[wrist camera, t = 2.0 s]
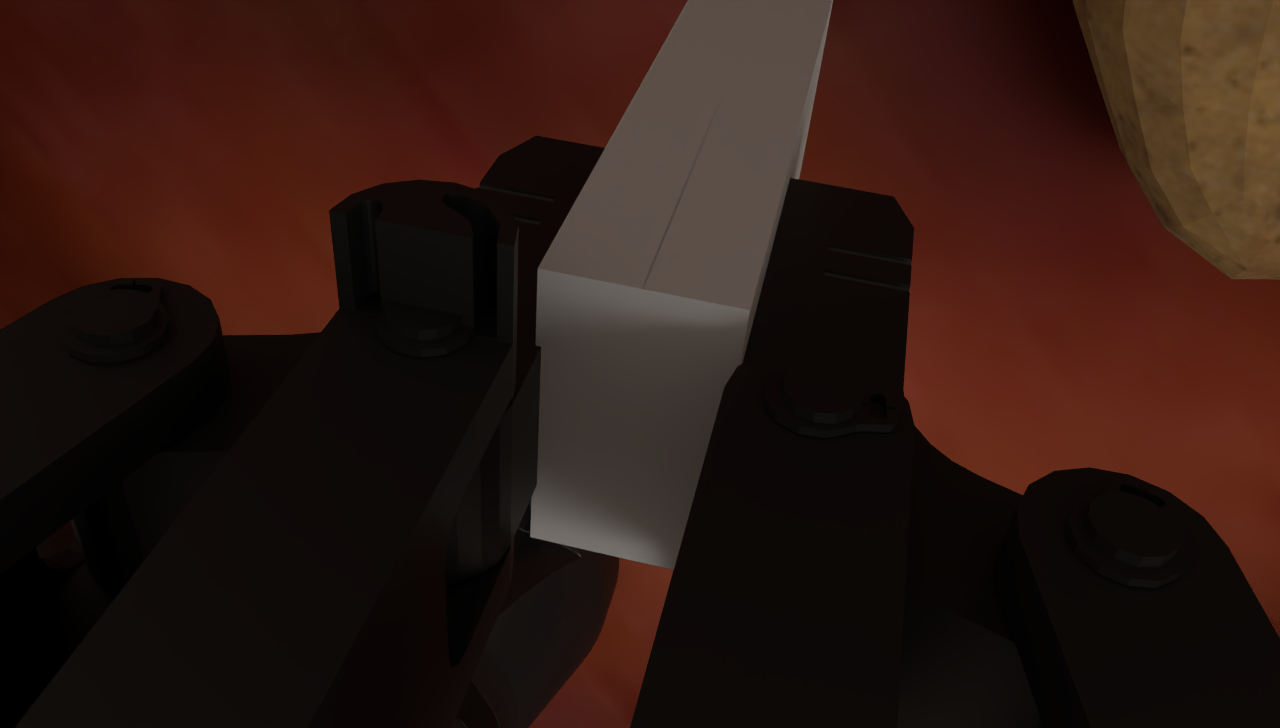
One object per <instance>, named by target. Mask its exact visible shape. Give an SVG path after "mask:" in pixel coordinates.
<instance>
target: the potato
mask: <svg viewBox="0 0 1280 728" xmlns="http://www.w3.org/2000/svg"><path fill="white" fill-rule="evenodd" d="M1073 5H1074V8H1075V11H1076V14H1077V17H1078V20H1079V24H1080V27H1081V30H1082V33H1083V36H1084V39H1085V42H1086V46H1087V49H1088V52H1089V55H1090V58H1091V61H1092V65H1093V68H1094V71H1095V74H1096V77H1097V80H1098V83H1099V86H1100V89H1101V92H1102V95H1103V99H1104V102H1105V105H1106V108H1107V111H1108V114H1109V117H1110V120H1111V123H1112V126H1113V129H1114V132H1115V135H1116V138H1117V141H1118V144H1119V147H1120V150H1121V152H1122V154H1123V156H1124V158H1125V160H1126V161H1127V163H1128V165H1129V167H1130V169H1131V170H1132V172H1133V174H1134V176H1135V178H1136V180H1137V181H1138V183H1139V185H1140V187H1141V189H1142V190H1143V192H1144V194H1145V196H1146V198H1147V199H1148V201H1149V203H1150V205H1151V207H1152V208H1153V210H1154V212H1155V214H1156V216H1157V217H1158V219H1159V220H1160V222H1161V223H1162V225H1163V226H1164V228H1166V229H1167V230H1168V231H1169V232H1171V233H1172V234H1173V235H1175V236H1176V237H1177V238H1179V239H1180V240H1181V241H1182V242H1184V243H1185V244H1186V245H1188V246H1189V247H1190V248H1192V249H1193V250H1194V251H1195V252H1197V253H1198V254H1199V255H1201V256H1202V257H1203V258H1205V259H1206V260H1207V261H1208V262H1210V263H1211V264H1212V265H1214V266H1215V267H1216V268H1218V269H1219V270H1220V271H1221V272H1223V273H1224V274H1225V275H1227V276H1228V277H1229V278H1231V279H1280V0H1073Z"/></svg>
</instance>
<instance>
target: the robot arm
mask: <svg viewBox="0 0 1280 728" xmlns="http://www.w3.org/2000/svg"><path fill="white" fill-rule="evenodd" d="M832 3H833V0H688V1H687V3H686V5H685V6H684V8H683V10H682V12H681V14H680V15H679V17H678V19H677V21H676V23H675V24H674V26H673V28H672V30H671V31H670V33H669V35H668V37H667V39H666V40H665V42H664V44H663V46H662V48H661V49H660V51H659V53H658V55H657V56H656V58H655V60H654V62H653V64H652V65H651V67H650V69H649V71H648V73H647V74H646V76H645V78H644V80H643V81H642V83H641V85H640V87H639V89H638V90H637V92H636V94H635V96H634V97H633V99H632V101H631V103H630V105H629V106H628V108H627V110H626V112H625V114H624V115H623V117H622V119H621V121H620V122H619V124H618V126H617V128H616V130H615V131H614V133H613V135H612V137H611V139H610V140H609V142H608V144H607V146H606V147H605V148H601V147H596V146H590V145H585V144H579V143H574V142H568V141H563V140H557V139H552V138H546V137H541V136H535V137H533V138H531V139H529V140H527V141H525V142H524V143H522V144H520V145H518V146H516V147H514V148H512V149H511V150H509V151H507V152H505V153H503V154H501V155H499V157H498V158H497V160H496V161H495V162H494V164H493V165H492V166H491V168H490V169H489V171H488V172H487V173H486V175H485V176H484V178H483V179H482V180H481V182H480V187H479V188H476V189H474V188H470V187H467V186H464V185H461V184H457V183H453V182H441V181H429V180H411V181H402V182H393V183H384V184H381V185H378V186H375V187H372V188H369V189H366V190H363V191H360V192H357V193H354V194H351V195H350V196H349V197H347V198H346V199H344V200H343V201H342V202H340V203H339V204H337V205H336V206H335V207H333V208H332V209H331V210H329V214H330V223H331V233H332V242H333V251H334V261H335V270H336V279H337V288H338V298H339V307H340V309H339V310H338V311H337V313H336V314H335V315H334V316H333V318H332V319H331V320H330V322H329V323H328V324H327V325H326V327H325V328H324V329H323V331H322V332H319V333H308V334H295V335H226V336H223V335H222V330H221V325H220V320H219V317H218V315H217V313H216V310H215V308H214V306H213V304H212V301H211V299H209V298H207V297H206V296H204V295H203V294H201V293H200V292H198V291H197V290H195V289H194V288H192V287H191V286H189V285H185V284H181V283H177V282H173V281H168V280H164V279H160V278H120V279H114V280H110V281H105V282H100V283H96V284H91V285H86V286H82V287H80V288H78V289H75V290H73V291H71V292H69V293H66V294H64V295H62V296H59V297H57V298H55V299H53V300H50V301H48V302H47V303H45V304H43V305H42V306H40V307H38V308H37V309H35V310H33V311H31V312H30V313H28V314H26V315H25V316H23V317H21V318H20V319H18V320H16V321H14V322H13V323H11V324H9V325H8V326H6V327H4V328H3V329H1V330H0V728H529V726H530V725H531V724H532V723H533V721H534V720H535V719H536V718H537V717H538V715H539V714H540V713H541V712H542V711H543V709H544V708H545V707H546V706H547V704H548V703H549V702H550V701H551V700H552V698H553V697H554V696H555V695H556V693H557V692H558V691H559V690H560V689H561V687H562V686H563V685H564V684H565V682H566V681H567V680H568V679H569V678H570V676H571V675H572V674H573V673H574V671H575V670H576V669H577V668H578V667H579V665H580V664H581V663H582V662H583V660H584V659H585V658H586V656H587V655H588V654H589V652H590V651H591V649H592V647H593V646H594V644H595V642H596V640H597V638H598V636H599V635H600V632H601V630H602V627H603V624H604V621H605V618H606V615H607V612H608V609H609V606H610V603H611V600H612V596H613V593H614V590H615V587H616V583H617V578H618V570H619V558H624V559H628V560H632V561H637V562H641V563H645V564H650V565H654V566H659V567H663V568H667V569H672V570H674V571H673V574H672V578H671V582H670V585H669V589H668V592H667V596H666V600H665V603H664V607H663V611H662V614H661V618H660V621H659V625H658V629H657V632H656V636H655V640H654V643H653V647H652V650H651V654H650V658H649V661H648V665H647V668H646V672H645V676H644V679H643V683H642V687H641V690H640V694H639V697H638V701H637V705H636V708H635V712H634V715H633V719H632V723H631V726H630V728H1280V638H1279V636H1278V635H1277V633H1276V631H1275V629H1274V627H1273V626H1272V624H1271V622H1270V620H1269V619H1268V617H1267V615H1266V613H1265V611H1264V610H1263V608H1262V606H1261V604H1260V603H1259V601H1258V599H1257V597H1256V596H1255V594H1254V592H1253V590H1252V588H1251V587H1250V585H1249V583H1248V581H1247V580H1246V578H1245V576H1244V574H1243V572H1242V571H1241V569H1240V567H1239V565H1238V564H1237V562H1236V560H1235V558H1234V557H1233V555H1232V553H1231V551H1230V549H1229V548H1228V546H1227V545H1226V544H1225V543H1224V541H1223V540H1222V539H1221V538H1220V536H1219V535H1218V534H1217V533H1216V531H1215V530H1214V529H1213V528H1212V526H1211V525H1210V524H1209V523H1208V522H1207V520H1206V519H1205V518H1204V517H1203V516H1202V515H1200V514H1199V513H1198V512H1196V511H1195V510H1194V509H1192V508H1191V507H1189V506H1188V505H1187V504H1185V503H1184V502H1182V501H1181V500H1180V499H1178V498H1177V497H1176V496H1174V495H1173V494H1171V493H1170V492H1168V491H1166V490H1164V489H1161V488H1159V487H1157V486H1154V485H1152V484H1150V483H1147V482H1145V481H1143V480H1140V479H1138V478H1136V477H1133V476H1131V475H1128V474H1122V473H1117V472H1111V471H1106V470H1100V469H1095V468H1079V469H1069V470H1059V471H1054V472H1052V473H1050V474H1048V475H1046V476H1044V477H1042V478H1041V479H1039V480H1037V481H1035V482H1033V483H1031V484H1029V486H1028V487H1027V489H1026V491H1025V493H1024V495H1021V494H1018V493H1016V492H1014V491H1012V490H1010V489H1007V488H1005V487H1003V486H1001V485H998V484H996V483H994V482H992V481H990V480H987V479H985V478H983V477H981V476H979V475H977V474H975V473H973V472H971V471H969V470H968V469H966V468H964V467H962V466H960V465H958V464H957V463H955V462H953V461H951V460H950V459H949V458H948V457H946V456H945V455H944V454H943V453H941V452H940V451H939V450H937V449H936V448H935V447H934V446H932V445H931V444H930V443H929V442H928V441H927V439H926V438H925V437H924V436H923V435H922V434H921V432H920V431H919V430H918V429H917V428H916V427H915V425H914V422H913V418H912V414H911V410H910V406H909V402H908V400H907V399H906V398H905V397H904V391H903V386H904V371H905V356H906V341H907V326H908V311H909V296H910V292H909V288H910V281H911V261H912V251H913V236H914V227H913V226H912V224H911V222H910V221H909V219H908V218H907V216H906V215H905V213H904V212H903V210H902V208H901V207H900V205H899V204H898V202H897V201H896V199H895V198H894V197H893V196H887V195H882V194H876V193H871V192H865V191H860V190H854V189H849V188H843V187H838V186H832V185H827V184H821V183H816V182H810V181H805V180H799V177H800V171H801V166H802V161H803V156H804V150H805V145H806V140H807V135H808V129H809V124H810V119H811V114H812V108H813V103H814V98H815V93H816V87H817V82H818V77H819V72H820V66H821V61H822V56H823V51H824V45H825V40H826V35H827V30H828V24H829V19H830V14H831V9H832Z"/></svg>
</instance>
